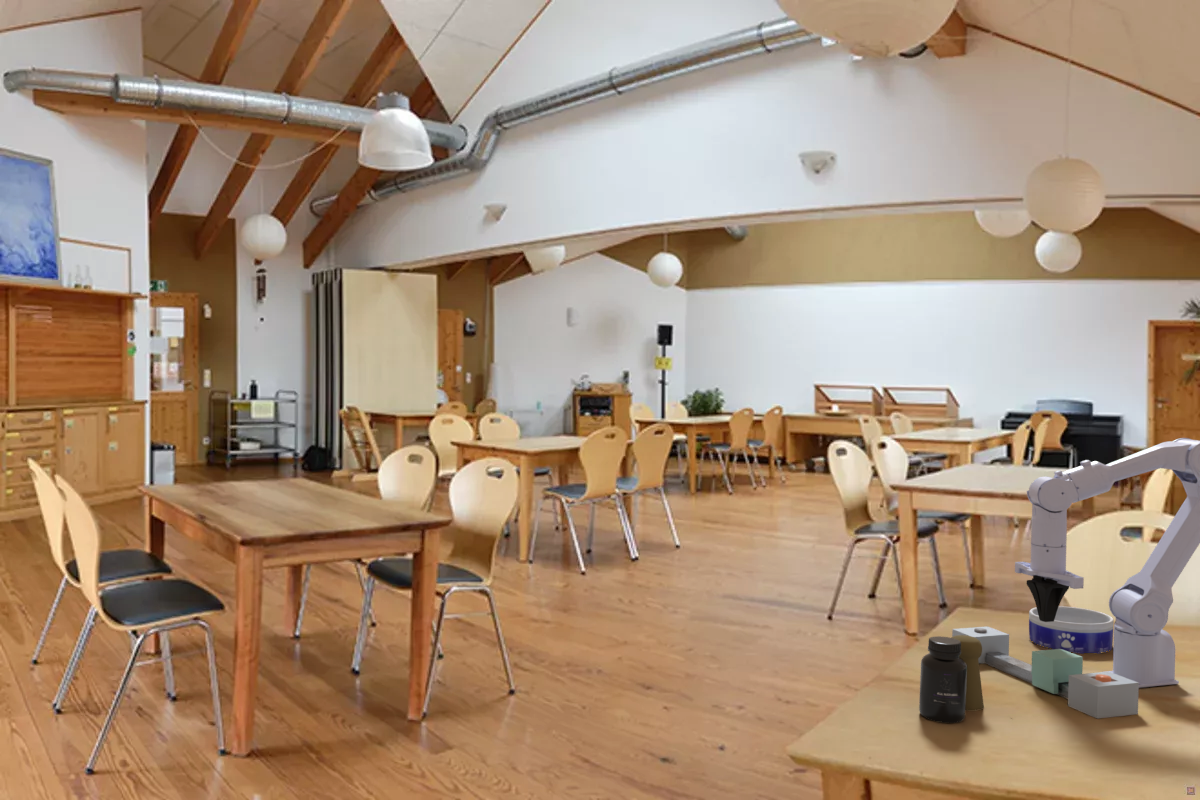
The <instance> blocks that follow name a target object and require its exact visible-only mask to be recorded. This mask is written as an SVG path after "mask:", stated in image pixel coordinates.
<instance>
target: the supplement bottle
mask: <svg viewBox="0 0 1200 800" xmlns="http://www.w3.org/2000/svg"><path fill="white" fill-rule="evenodd" d="M927 644H928V645H927V651H928V652H929V653H927V654H924V655H923V657H922V658H921V661H920V675H919V676H920V677H919V704H918V705H919V707H918V709H919V710H918V711H919V713H920V715H921V716H922V717H923V718H925V719H928V720H929V721H933V722H938V723H945V724H955V723H961V722H963V721H964V720H965V718H966V711H967V710H966V686H967V665H966V663H965V661H964V660H963V659H962V658H960V657H959V655H961V642H960V641H959V640H957V639H954V638H951V637H948V636H942V635H941V636H939V635H938V636H931V637H929V638H928V643H927Z"/></svg>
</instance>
